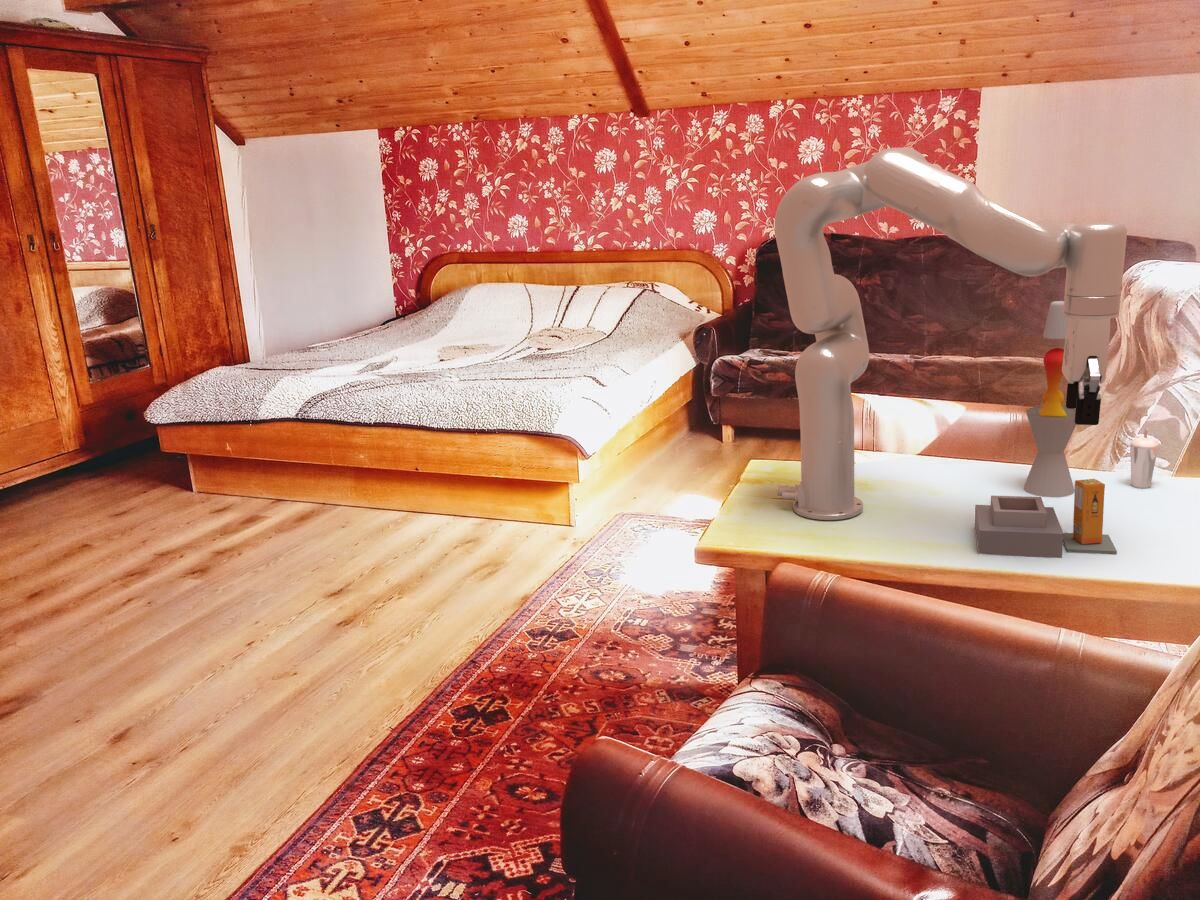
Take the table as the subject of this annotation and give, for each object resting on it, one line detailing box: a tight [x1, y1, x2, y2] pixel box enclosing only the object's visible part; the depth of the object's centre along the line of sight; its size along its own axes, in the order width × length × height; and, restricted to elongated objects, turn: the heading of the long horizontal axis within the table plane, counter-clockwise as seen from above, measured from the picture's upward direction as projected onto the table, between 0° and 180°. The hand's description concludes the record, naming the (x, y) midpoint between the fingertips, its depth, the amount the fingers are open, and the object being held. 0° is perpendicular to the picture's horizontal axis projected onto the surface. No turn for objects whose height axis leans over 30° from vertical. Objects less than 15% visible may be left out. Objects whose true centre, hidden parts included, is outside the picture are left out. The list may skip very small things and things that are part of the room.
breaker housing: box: [974, 495, 1064, 559], centre depth 151 cm, size 12×12×6 cm
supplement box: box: [1072, 478, 1106, 544], centre depth 147 cm, size 3×3×10 cm
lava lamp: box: [1023, 300, 1077, 498], centre depth 169 cm, size 9×9×35 cm
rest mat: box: [1063, 532, 1118, 555], centre depth 148 cm, size 7×7×1 cm
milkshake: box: [1129, 428, 1160, 489], centre depth 171 cm, size 5×5×10 cm
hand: (1081, 416), depth 144 cm, fingers open, 9 cm apart
